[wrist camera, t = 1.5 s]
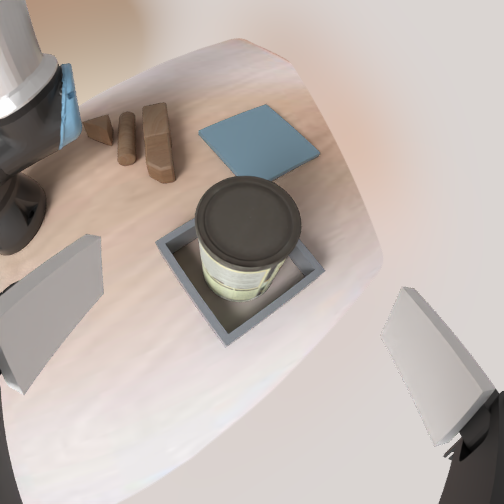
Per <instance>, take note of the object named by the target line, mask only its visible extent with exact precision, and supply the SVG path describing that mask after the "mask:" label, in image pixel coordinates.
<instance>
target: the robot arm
mask: <svg viewBox="0 0 504 504" xmlns="http://www.w3.org/2000/svg"><path fill="white" fill-rule="evenodd" d="M81 131H82V123H81V117H80V112H79V107H78V103H77V96H76V91H75V85H74V79H73V72H72V67H71V64H69V63H68V64H62V65H61V66H59V64H58V61H57V59H56V57H55V56H53V55H51V54H43V53H41V50H40V47H39V44H38V41H37V39H36V36H35V32H34V29H33V26H32V23H31V19H30V16H29V12H28V9H27V5H26V1H25V0H0V254H1V255H12V254H14V253H16V252H18V251H20V250H21V249H22V248H24V247H25V246H26V245H27V244H28V243H29V242H30V241H31V239H32V238H33V237H34V235H35V234H36V232H37V231H38V229H39V227H40V225H41V223H42V220H43V217H44V214H45V209H46V196H45V193H44V191H43V189H42V188H41V187H40V185H39V184H38V183H37V182H36V181H35V180H34V179H32V178H30V177H28V176H27V175H25V174H23V173H21V171H23V170H24V169H26V168H27V167H29V166H31V165H33V164H34V163H36V162H38V161H39V160H41V159H43V158H45V157H47V156H48V155H50V154H52V153H54V152H56V151H58V150H61V149H62V147H64V146H65V145H67V144H69V143H70V142H72V141H74V140H76V139H77V138H78V137H79V135H80V134H81ZM103 294H104V289H103V276H102V258H101V237H100V236H95V235H89V234H86V235H84V236H83V237H81V238H79V239H78V240H76V241H75V242H73V243H72V244H70V245H69V246H67V247H66V248H64V249H63V250H61V251H60V252H59V253H57V254H56V255H54V256H53V257H51V258H50V259H48V260H47V261H46V262H44V263H43V264H41V265H40V266H39V267H37V268H36V269H35V270H33V271H32V272H31V273H29V274H28V275H27V276H25V277H24V278H23V279H21V280H20V281H17V282H15V283H13V284H11V285H10V286H9V287H7V288H6V289H5V290H4V291H3V293H2V292H1V293H0V375H1V373H2V375H3V377H4V379H5V381H6V383H7V384H8V386H9V387H11V388H13V389H14V390H16V391H18V392H19V393H21V394H23V395H25V393H26V392H27V390H28V389H29V387H30V386H31V384H32V383H33V382H34V380H35V379H36V377H37V376H38V375H39V373H40V372H41V371H42V369H43V368H44V366H45V365H46V364H47V362H48V361H49V360H50V358H51V357H52V356H53V354H54V353H55V352H56V351H57V349H58V348H59V347H60V345H61V344H62V343H63V342H64V340H65V339H66V338H67V337H68V335H69V334H70V333H71V332H72V330H73V329H74V328H75V327H76V325H77V324H78V323H79V322H80V321H81V319H82V318H83V317H84V316H85V315H86V313H87V312H88V311H89V310H90V309H91V308H92V306H93V305H94V304H95V303H96V302H97V301H98V299H99V298H100V297H101V296H102V295H103ZM380 337H381V339H382V341H383V343H384V345H385V347H386V348H387V350H388V352H389V354H390V355H391V358H392V359H393V361H394V364H395V365H396V367H397V369H398V371H399V373H400V375H401V377H402V379H403V381H404V383H405V385H406V387H407V389H408V391H409V393H410V395H411V397H412V399H413V401H414V403H415V405H416V407H417V410H418V412H419V414H420V416H421V418H422V420H423V423H424V425H425V427H426V429H427V431H428V434H429V435H430V438H431V440H432V443H433V445H434V447H435V446H438V445H442V444H445V443H448V442H450V441H451V440H452V439H453V438H454V436H456V435H457V434H458V433H459V432H460V434H461V436H462V437H461V438H460V439H459V440H458V441H457V442H456V443H455V444H454V445H453V446H452V447H451V448H450V449H449V450H448V451H447V452H446V453H445V454H444V457H447V456H448V455H449V454H450V453H451V452H454V454H453V455H452V456H451V457H449V459H450V460H452V462H451V466H450V470H449V473H448V477H447V480H446V483H445V487H444V490H443V493H442V495H441V498H440V501H439V504H504V391H502V392H501V393H500V394H499V393H498V391H497V390H496V389H495V387H494V385H493V384H492V382H491V381H490V380H489V378H488V377H487V375H486V374H485V373H484V371H483V370H482V369H481V367H480V366H479V365H478V363H477V362H476V361H475V360H474V358H473V357H472V355H471V354H470V353H469V352H468V351H467V349H466V348H465V347H464V345H463V344H462V343H461V342H460V340H459V339H458V338H457V337H456V335H454V333H453V332H452V331H451V329H450V328H449V327H448V326H447V325H446V323H445V322H444V321H443V320H442V319H441V318H440V317H439V315H438V314H437V313H436V312H435V311H434V310H433V309H432V307H431V306H430V305H429V304H428V303H427V302H426V301H425V299H424V298H423V297H422V296H421V295H420V294H419V293H418V292H417V291H416V290H415V289H414V288H408V287H401V289H400V292H399V295H398V297H397V299H396V302H395V304H394V306H393V309H392V311H391V313H390V315H389V318H388V320H387V322H386V324H385V326H384V329H383V331H382V333H381V335H380ZM0 504H23V503H22V500H21V497H20V494H19V491H18V488H17V484H16V481H15V477H14V473H13V469H12V465H11V461H10V456H9V452H8V447H7V441H6V435H5V429H4V421H3V413H2V402H1V388H0Z"/></svg>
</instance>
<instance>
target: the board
mask: <svg viewBox="0 0 504 504" xmlns="http://www.w3.org/2000/svg"><path fill="white" fill-rule="evenodd" d="M199 136H200V137H201V138H202V139H203V140H204V141H205V142H206V143H207V144H208V145H209V146H210V148H211V149H212V150H213V151H214V152H215V153H216V154H217V155H218V156H219V157H220V159H221V160H222V161H223V162H224V163H225V164H226V165H227V166H228V167H229V169H230V170H231V171H232V172H233V173H234V174H235V175H236V176H255V177H260V178H264V179H266V180H269V181H272V180H274V179H276V178H278V177H280V176H282V175H284V174H285V173H287V172H289V171H291V170H293V169H295V168H297V167H299V166H301V165H303V164H304V163H306V162H308V161H310V160H312V159H314V158H316V157H318V156H319V154H320V152H319V151H318V150H317V149H316V148H315V147H314V146H313V145H312V144H311V143H310V142H308V141H307V140H306V139H305V138H304V137H303V136H302V135H301V134H300V133H299V132H298V131H297V130H295V129H294V128H293V127H292V126H291V125H290V124H289V123H288V122H286V121H285V120H284V119H283V118H282V117H281V116H279V115H278V114H277V113H276V112H275V111H274V110H272V109H271V108H270V107H269V106H268V105H266V104H265V105H263V106H260V107H257V108H254V109H251V110H249V111H246V112H243V113H241V114H238V115H235V116H233V117H230V118H228V119H225V120H223V121H220V122H218V123H215V124H213V125H211V126H208V127H206V128H204V129H201V130H199Z"/></svg>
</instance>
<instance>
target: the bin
mask: <svg viewBox="0 0 504 504" xmlns="http://www.w3.org/2000/svg"><path fill="white" fill-rule="evenodd" d="M196 238H198V237H197V234H196V229H195V218H194V219H192V220H190V221H188V222H187V223H185V224H183V225H182V226H180V227H178V228H177V229H175V230H174V231H172V232H170V233H169V234H167V235H165V236H164V237H162V238H161V239H159V240H157V241H156V242H155V243H156V245H157V247H158V249H159V251H160V254H161V255H162V257H163V258H164V260H165V261H166V263H167V264H168V266H169V268H170V269H171V271H172V272H173V274H174V275H175V277H176V278H177V280H178V281H179V283H180V284H181V286H182V287H183V289H184V290H185V292H186V293H187V295H188V296H189V297H190V299H191V300H192V302H193V303H194V305H195V306H196V308H197V309H198V310H199V312H200V313H201V315H202V316H203V317H204V319H205V320H206V322H207V323H208V324H209V326H210V327H211V329H212V330H213V331H214V333H215V334H216V335H217V337H218V338H219V340H220V341H221V342H222V344H223V345H224V346H225V348H226V347H227V346H229V345H230V344H232V343H233V342H234V341H236V340H237V339H239V338H240V337H241V336H243V335H244V334H245V333H247V332H248V331H250V330H251V329H252V328H254V327H255V326H256V325H258V324H259V323H260V322H262V321H263V320H264V319H266V318H267V317H268V316H270V315H271V314H272V313H274V312H275V311H276V310H278V309H279V308H280V307H282V306H283V305H284V304H286V303H287V302H288V301H289V300H291V299H292V298H293V297H295V296H296V295H297V294H298V293H300V292H301V291H302V290H304V289H305V288H306V287H307V286H309V285H310V284H311V283H312V282H314V281H315V280H316V279H317V278H318V277H319V276H320V275H321V274H323V273H324V272H325V270H324V269H323V267H322V266H321V265H320V264H319V262H318V261H317V260H316V259H315V258H314V256H313V255H312V254H311V253H310V251H309V250H308V249H307V248H306V247H305V245H304V244H303V243H302V242H301V241H300V239H299V240H298V242H297V244H296V246H295V248H294V249H293V251H292V252H291V253H290V255H289V257H290V258H291V260H292V261H293V262H294V263H295V265H296V266H297V267H298V268H299V270H300V271H301V272H302V273H303V274H304V276H305V278H303V279H302V280H301V281H300V282H298V283H297V284H296V285H294V286H293V287H292V288H291V289H289V290H288V291H287V292H285V293H284V294H283V295H281V296H280V297H279V298H277V299H276V300H275V301H273V302H272V303H271V304H269V305H268V306H267V307H265V308H264V309H263V310H261V311H260V312H258V313H257V314H256V315H254V316H253V317H252V318H250V319H249V320H247V321H246V322H245V323H243V324H242V325H241V326H239V327H238V328H236V329H235V330H234V331H232V332H231V333H229V334H228V333H227V332H226V330H225V329H224V328H223V326H222V325H221V324H220V322H219V321H218V320H217V318H216V317H215V315H214V314H213V313H212V311H211V310H210V308H209V307H208V306H207V304H206V303H205V301H204V300H203V299H202V297H201V296H200V294H199V293H198V292H197V290H196V289H195V287H194V286H193V284H192V283H191V281H190V280H189V279H188V277H187V276H186V274H185V273H184V271H183V270H182V268H181V267H180V265H179V264H178V262H177V261H176V259H175V258H174V256H173V255H172V253H174V252H175V251H177V250H179V249H180V248H182V247H183V246H185V245H187V244H188V243H190V242H191V241H193V240H195V239H196Z"/></svg>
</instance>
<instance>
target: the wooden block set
mask: <svg viewBox="0 0 504 504" xmlns="http://www.w3.org/2000/svg"><path fill="white" fill-rule="evenodd" d="M83 125H84V127H85V130H86V132H87V135H88V137H89V138H92V139H94V140H96V141H99V142H101V143H104V144H107V145H110V146H112V138H113V128H112V125H111V122H110V119H109V116H108V115H105V116H101V117H98V118H94V119H91V120H88V121H84V122H83ZM143 137H144V142H145V155H146V164H147V168H148V172H149V175H150V177H151V178H153V179H155V180H157V181H159V182H161V183H169V182H174V181H175V180H176V179H175V173H174V167H173V160H172V154H171V147H172V144H171V137H170V129H169V122H168V114H167V106H166V103H164V102H163V103H158V104H153V105H148V106H144V107H143ZM135 160H136V147H135V115H134V114H133V113H132V112H125V113H123V114H121V116H120V117H119V132H118V162H119V164H120V165H123V166H128V165H131V164H133V163H134V162H135Z"/></svg>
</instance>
